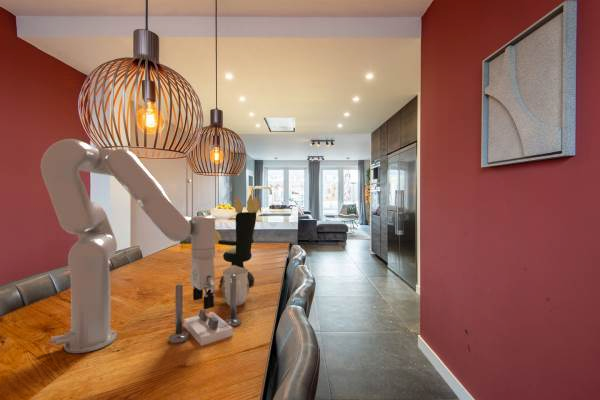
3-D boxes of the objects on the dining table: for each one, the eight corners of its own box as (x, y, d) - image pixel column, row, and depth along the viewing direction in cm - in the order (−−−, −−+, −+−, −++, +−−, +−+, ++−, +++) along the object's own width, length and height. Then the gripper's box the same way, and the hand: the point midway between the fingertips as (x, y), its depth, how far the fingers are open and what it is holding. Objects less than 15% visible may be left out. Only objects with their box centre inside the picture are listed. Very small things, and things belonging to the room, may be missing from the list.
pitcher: (224, 314, 108) (224, 277, 108) (219, 298, 125) (219, 266, 124) (253, 310, 112) (254, 274, 112) (245, 295, 129) (245, 264, 128)
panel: (201, 345, 85) (201, 337, 85) (184, 326, 98) (184, 318, 98) (232, 335, 91) (232, 327, 91) (212, 318, 104) (212, 311, 104)
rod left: (171, 346, 85) (171, 288, 85) (166, 338, 89) (166, 283, 89) (191, 340, 88) (191, 284, 88) (185, 333, 93) (185, 280, 93)
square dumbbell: (212, 329, 89) (213, 321, 90) (198, 316, 99) (200, 309, 99) (217, 328, 90) (218, 320, 91) (203, 316, 100) (204, 309, 100)
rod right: (229, 328, 96) (229, 277, 96) (222, 322, 101) (222, 274, 100) (244, 324, 100) (244, 274, 100) (236, 318, 104) (237, 271, 104)
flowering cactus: (243, 276, 158) (244, 193, 157) (269, 285, 142) (270, 194, 142) (211, 283, 145) (212, 193, 144) (236, 294, 129) (236, 193, 128)
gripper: (183, 250, 102) (183, 298, 102) (201, 258, 88) (201, 314, 88) (204, 247, 106) (204, 294, 107) (224, 255, 93) (224, 308, 93)
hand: (203, 303), depth 98 cm, fingers open, 9 cm apart
